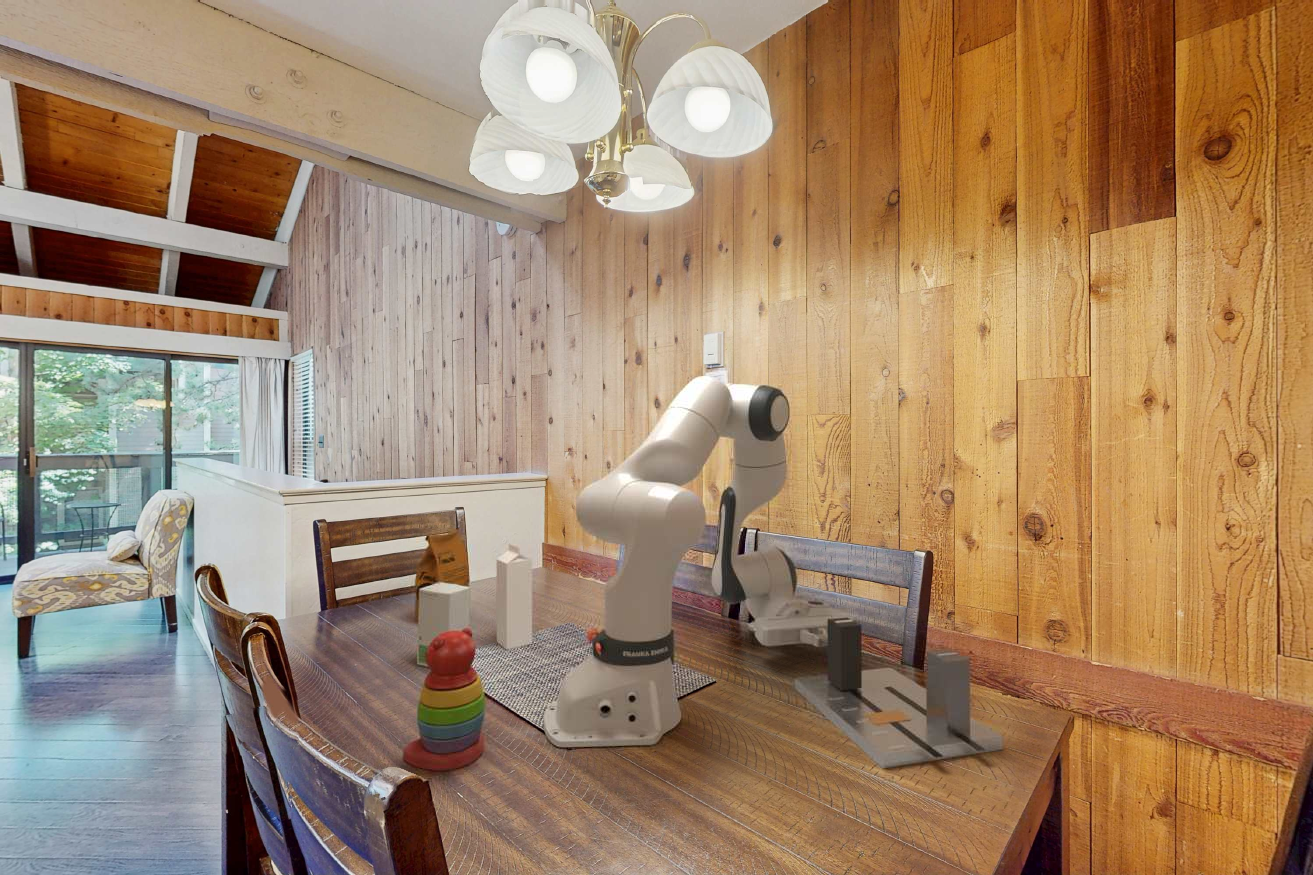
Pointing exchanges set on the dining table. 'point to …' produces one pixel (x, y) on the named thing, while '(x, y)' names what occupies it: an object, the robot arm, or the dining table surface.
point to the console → (906, 712)
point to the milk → (514, 599)
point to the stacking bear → (449, 706)
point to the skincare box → (441, 613)
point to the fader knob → (844, 653)
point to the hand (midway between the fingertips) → (824, 642)
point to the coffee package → (442, 563)
